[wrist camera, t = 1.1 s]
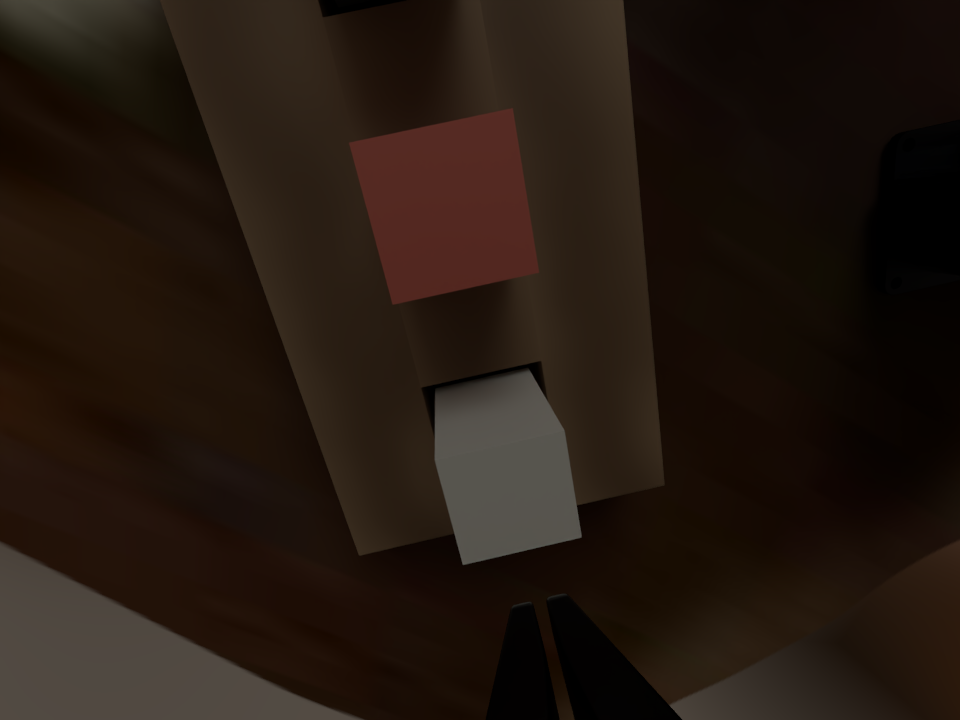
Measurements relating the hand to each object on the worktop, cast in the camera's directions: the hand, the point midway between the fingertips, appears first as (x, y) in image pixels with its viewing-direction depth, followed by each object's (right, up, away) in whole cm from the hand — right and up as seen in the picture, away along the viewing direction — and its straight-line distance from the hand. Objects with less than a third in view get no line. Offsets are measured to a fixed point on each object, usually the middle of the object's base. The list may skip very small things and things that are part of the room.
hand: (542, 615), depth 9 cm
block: (-3, +11, +9) cm, 14 cm away
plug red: (-2, +10, +6) cm, 11 cm away
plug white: (-1, +3, +8) cm, 9 cm away
